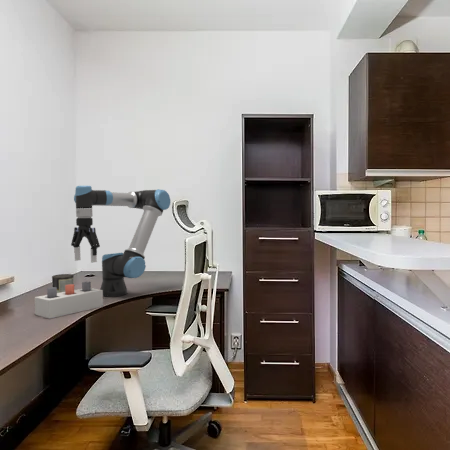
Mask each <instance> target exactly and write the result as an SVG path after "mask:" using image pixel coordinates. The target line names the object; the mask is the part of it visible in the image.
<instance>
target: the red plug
mask: <svg viewBox="0 0 450 450" xmlns="http://www.w3.org/2000/svg"><path fill="white" fill-rule="evenodd" d="M74 290H75V284H69V285H65V295H71V294H74Z"/></svg>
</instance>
